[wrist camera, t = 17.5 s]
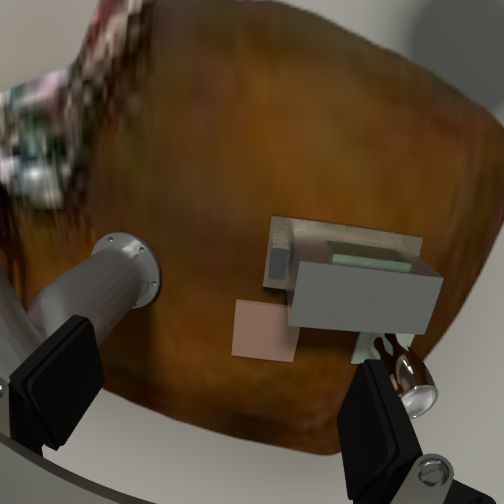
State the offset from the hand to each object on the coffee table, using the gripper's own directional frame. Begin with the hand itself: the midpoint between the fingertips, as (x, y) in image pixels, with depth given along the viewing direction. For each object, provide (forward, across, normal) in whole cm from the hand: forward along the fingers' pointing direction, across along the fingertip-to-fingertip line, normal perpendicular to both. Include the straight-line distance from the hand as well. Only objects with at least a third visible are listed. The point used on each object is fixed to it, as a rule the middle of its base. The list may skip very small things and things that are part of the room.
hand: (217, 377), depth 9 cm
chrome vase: (+32, -22, +18) cm, 43 cm away
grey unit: (+32, -12, +6) cm, 35 cm away
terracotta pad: (+32, -3, +19) cm, 37 cm away
